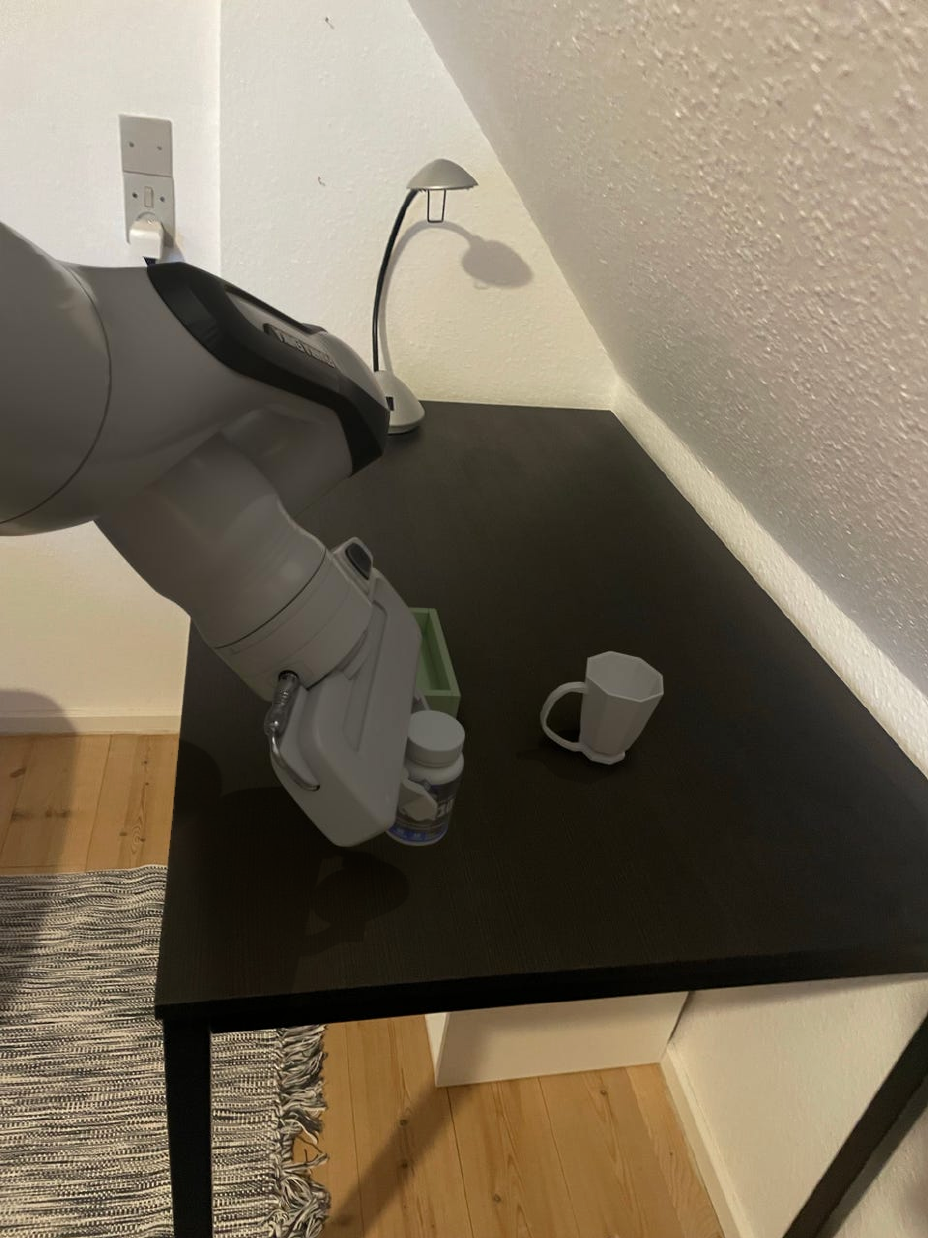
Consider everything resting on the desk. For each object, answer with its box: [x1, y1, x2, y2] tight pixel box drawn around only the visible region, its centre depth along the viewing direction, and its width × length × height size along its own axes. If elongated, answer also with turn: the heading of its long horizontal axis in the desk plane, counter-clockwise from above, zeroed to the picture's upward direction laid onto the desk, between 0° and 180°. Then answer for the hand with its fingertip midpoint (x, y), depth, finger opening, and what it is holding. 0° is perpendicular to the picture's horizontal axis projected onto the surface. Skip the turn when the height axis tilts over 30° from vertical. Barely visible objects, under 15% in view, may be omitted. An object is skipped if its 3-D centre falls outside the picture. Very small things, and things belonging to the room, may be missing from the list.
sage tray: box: [408, 606, 462, 720], centre depth 86 cm, size 14×14×3 cm
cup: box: [539, 650, 665, 766], centre depth 81 cm, size 7×10×8 cm
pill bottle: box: [385, 710, 466, 847], centre depth 62 cm, size 5×5×8 cm
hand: (433, 776), depth 62 cm, fingers closed on pill bottle, 5 cm apart
